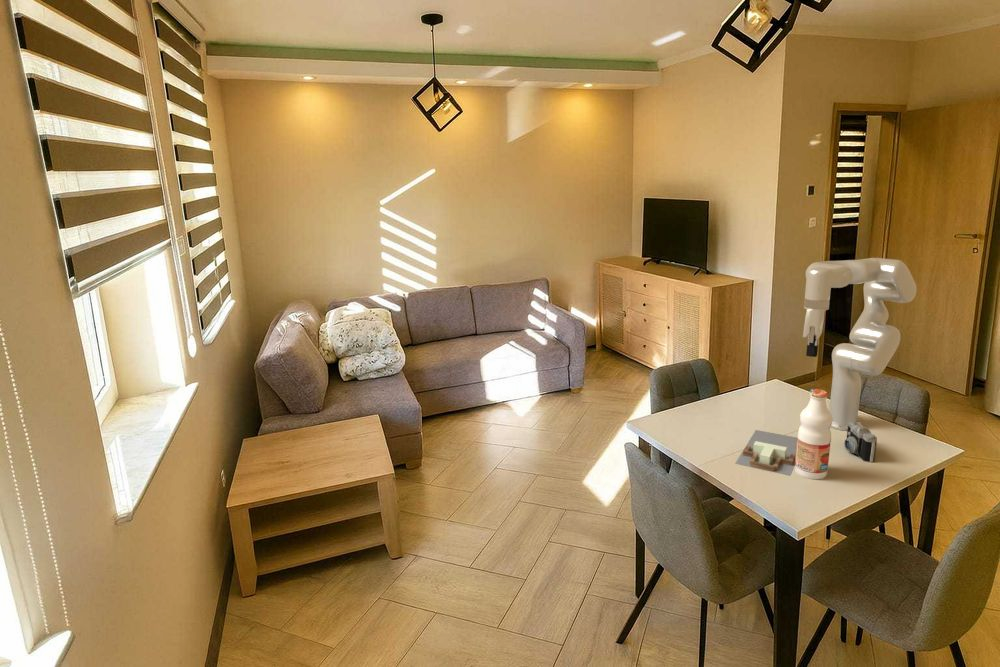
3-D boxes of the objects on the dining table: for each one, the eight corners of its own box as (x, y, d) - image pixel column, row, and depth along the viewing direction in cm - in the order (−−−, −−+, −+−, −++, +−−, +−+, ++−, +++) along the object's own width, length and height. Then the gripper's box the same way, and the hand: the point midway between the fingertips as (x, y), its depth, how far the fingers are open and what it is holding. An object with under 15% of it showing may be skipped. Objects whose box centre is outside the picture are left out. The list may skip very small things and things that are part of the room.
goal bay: (747, 448, 214) (747, 444, 213) (794, 458, 205) (795, 454, 205) (737, 463, 203) (738, 459, 203) (787, 474, 195) (788, 470, 194)
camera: (835, 443, 215) (838, 417, 213) (855, 443, 215) (858, 416, 212) (855, 462, 201) (858, 435, 198) (876, 462, 201) (880, 434, 198)
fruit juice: (793, 464, 202) (800, 385, 194) (825, 468, 198) (833, 387, 191) (795, 477, 193) (803, 395, 186) (828, 482, 190) (837, 398, 182)
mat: (755, 430, 228) (755, 429, 228) (805, 439, 219) (805, 439, 219) (735, 464, 204) (735, 463, 203) (790, 476, 194) (790, 475, 194)
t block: (754, 451, 211) (755, 441, 210) (786, 458, 206) (786, 447, 205) (747, 463, 203) (748, 452, 202) (780, 470, 198) (781, 459, 197)
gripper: (807, 298, 213) (803, 349, 217) (800, 307, 201) (796, 360, 206) (831, 300, 209) (826, 351, 213) (826, 309, 197) (820, 363, 202)
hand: (811, 355), depth 209 cm, fingers closed
